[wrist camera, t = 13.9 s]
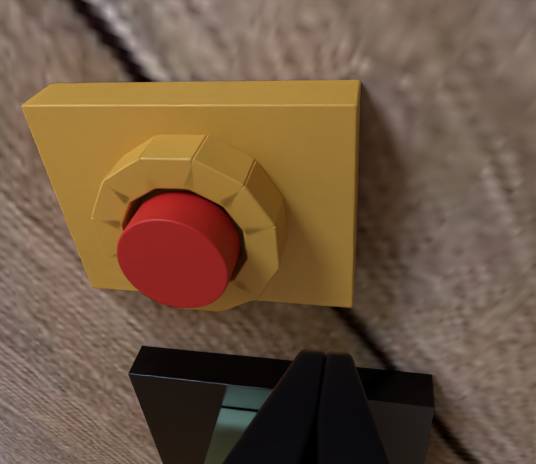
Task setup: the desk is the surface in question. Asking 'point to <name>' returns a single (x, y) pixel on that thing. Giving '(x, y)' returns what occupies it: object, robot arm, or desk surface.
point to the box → (227, 433)
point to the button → (179, 250)
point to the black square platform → (262, 400)
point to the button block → (213, 174)
